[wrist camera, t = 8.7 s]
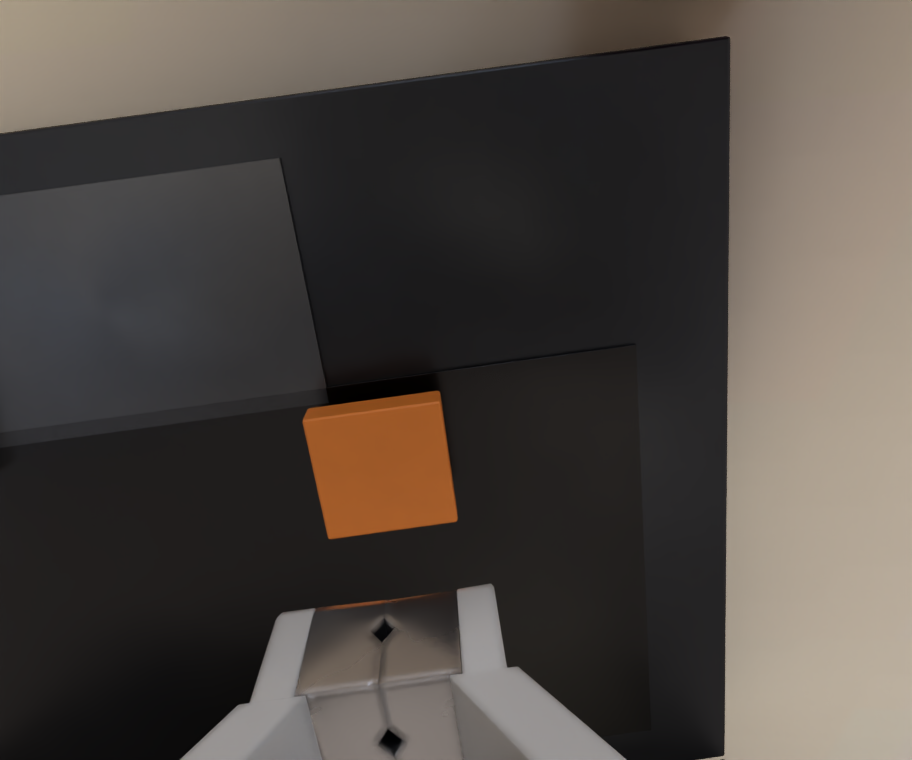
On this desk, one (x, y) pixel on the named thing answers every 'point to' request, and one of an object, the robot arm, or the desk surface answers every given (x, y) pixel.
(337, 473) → the orange block
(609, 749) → the robot arm
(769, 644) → the desk surface
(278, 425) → the laptop
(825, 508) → the desk surface
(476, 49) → the desk surface
